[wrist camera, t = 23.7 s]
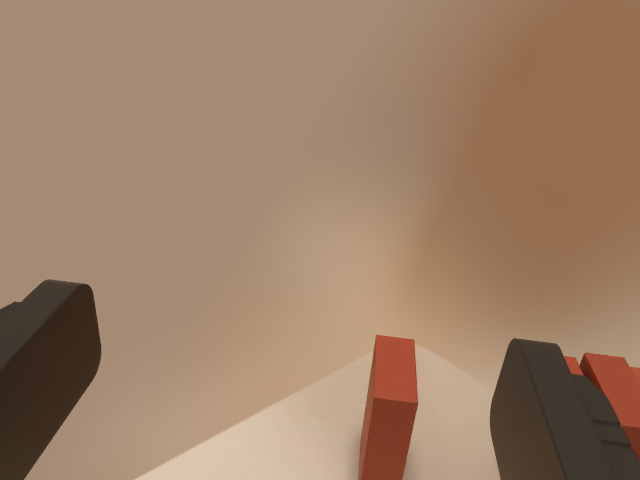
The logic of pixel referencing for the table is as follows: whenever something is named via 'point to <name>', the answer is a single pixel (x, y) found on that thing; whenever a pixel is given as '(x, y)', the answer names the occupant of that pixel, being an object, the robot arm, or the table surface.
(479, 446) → the table surface
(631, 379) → the red books
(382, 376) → the red book
